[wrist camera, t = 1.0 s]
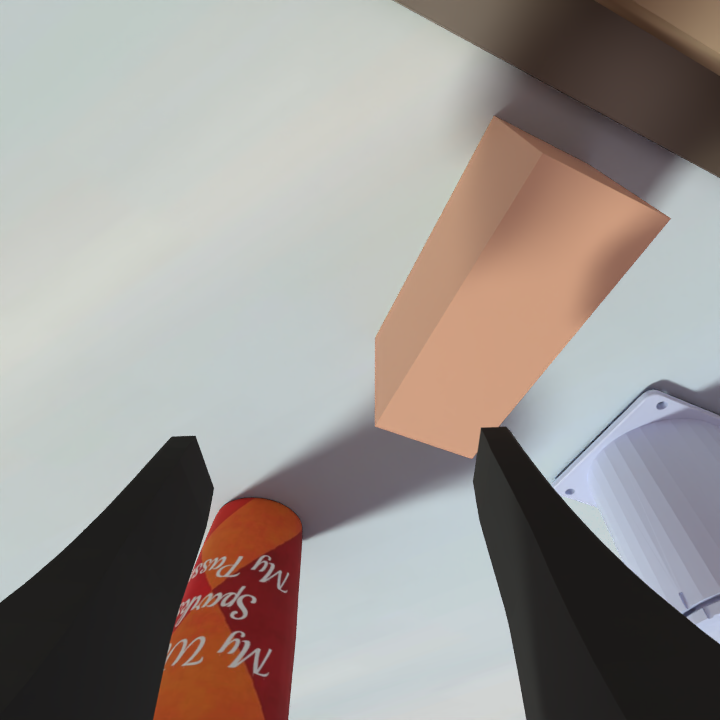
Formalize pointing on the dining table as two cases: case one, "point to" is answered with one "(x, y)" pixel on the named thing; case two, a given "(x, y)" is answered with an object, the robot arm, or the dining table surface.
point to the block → (502, 287)
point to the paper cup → (237, 619)
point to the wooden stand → (610, 59)
